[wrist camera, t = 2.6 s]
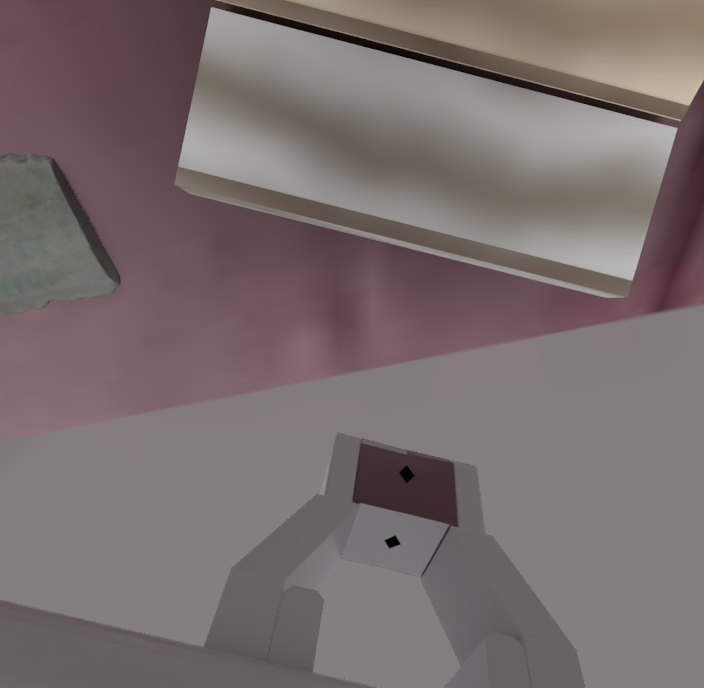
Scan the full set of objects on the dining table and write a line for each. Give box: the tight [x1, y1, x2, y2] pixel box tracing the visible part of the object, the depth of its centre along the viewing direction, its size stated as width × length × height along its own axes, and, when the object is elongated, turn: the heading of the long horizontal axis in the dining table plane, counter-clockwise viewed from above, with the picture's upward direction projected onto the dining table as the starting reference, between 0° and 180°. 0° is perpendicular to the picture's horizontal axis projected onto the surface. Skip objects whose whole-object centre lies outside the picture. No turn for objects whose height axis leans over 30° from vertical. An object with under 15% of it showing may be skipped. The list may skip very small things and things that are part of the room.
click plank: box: [175, 7, 678, 298], centre depth 23 cm, size 8×22×2 cm, turn 77°
